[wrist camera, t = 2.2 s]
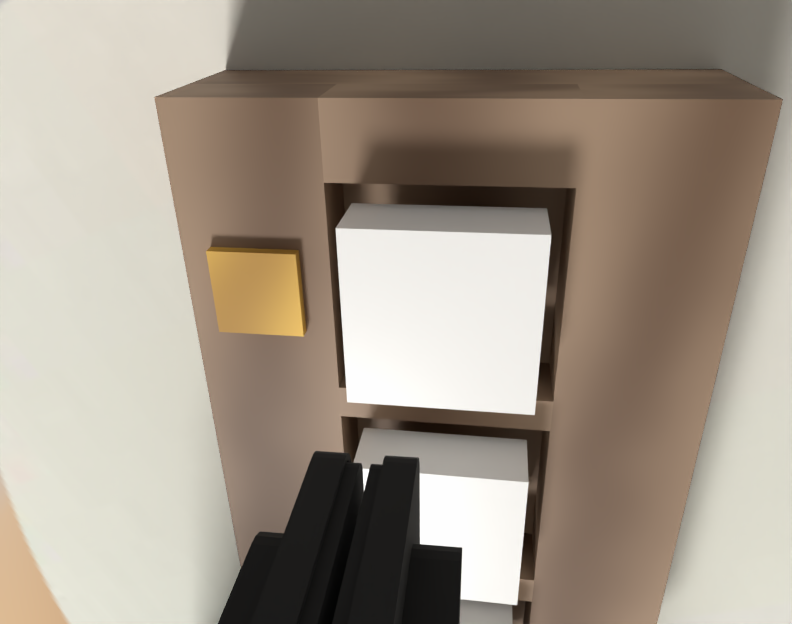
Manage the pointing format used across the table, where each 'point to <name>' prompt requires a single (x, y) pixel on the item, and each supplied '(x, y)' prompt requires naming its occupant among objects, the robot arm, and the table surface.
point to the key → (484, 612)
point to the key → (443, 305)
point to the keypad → (565, 294)
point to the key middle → (466, 501)
